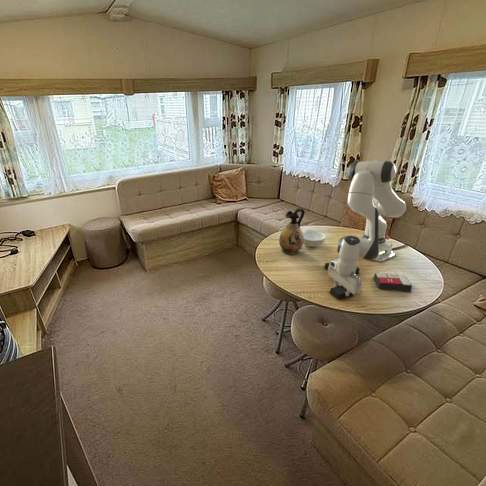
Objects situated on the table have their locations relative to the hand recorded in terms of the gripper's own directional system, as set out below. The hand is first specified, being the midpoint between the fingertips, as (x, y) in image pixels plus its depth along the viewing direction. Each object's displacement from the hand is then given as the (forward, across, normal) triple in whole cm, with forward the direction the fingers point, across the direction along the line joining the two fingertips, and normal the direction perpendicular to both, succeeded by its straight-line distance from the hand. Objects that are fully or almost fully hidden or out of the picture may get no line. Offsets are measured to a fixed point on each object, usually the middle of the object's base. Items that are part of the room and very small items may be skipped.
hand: (341, 291), depth 152 cm
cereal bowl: (+2, +54, -20) cm, 58 cm away
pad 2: (+2, 0, -2) cm, 3 cm away
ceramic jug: (+2, +50, -2) cm, 50 cm away
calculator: (+2, -2, -31) cm, 31 cm away
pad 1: (+2, +19, -16) cm, 25 cm away
